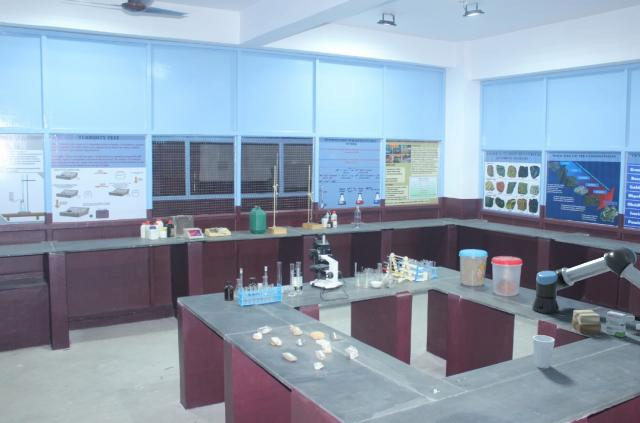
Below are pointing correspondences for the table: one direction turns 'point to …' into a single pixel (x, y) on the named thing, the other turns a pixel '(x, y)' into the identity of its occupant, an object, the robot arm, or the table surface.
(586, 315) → the top block
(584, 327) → the bottom block
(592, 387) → the table surface
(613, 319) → the ink box
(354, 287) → the table surface
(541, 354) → the foam cup
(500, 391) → the table surface
